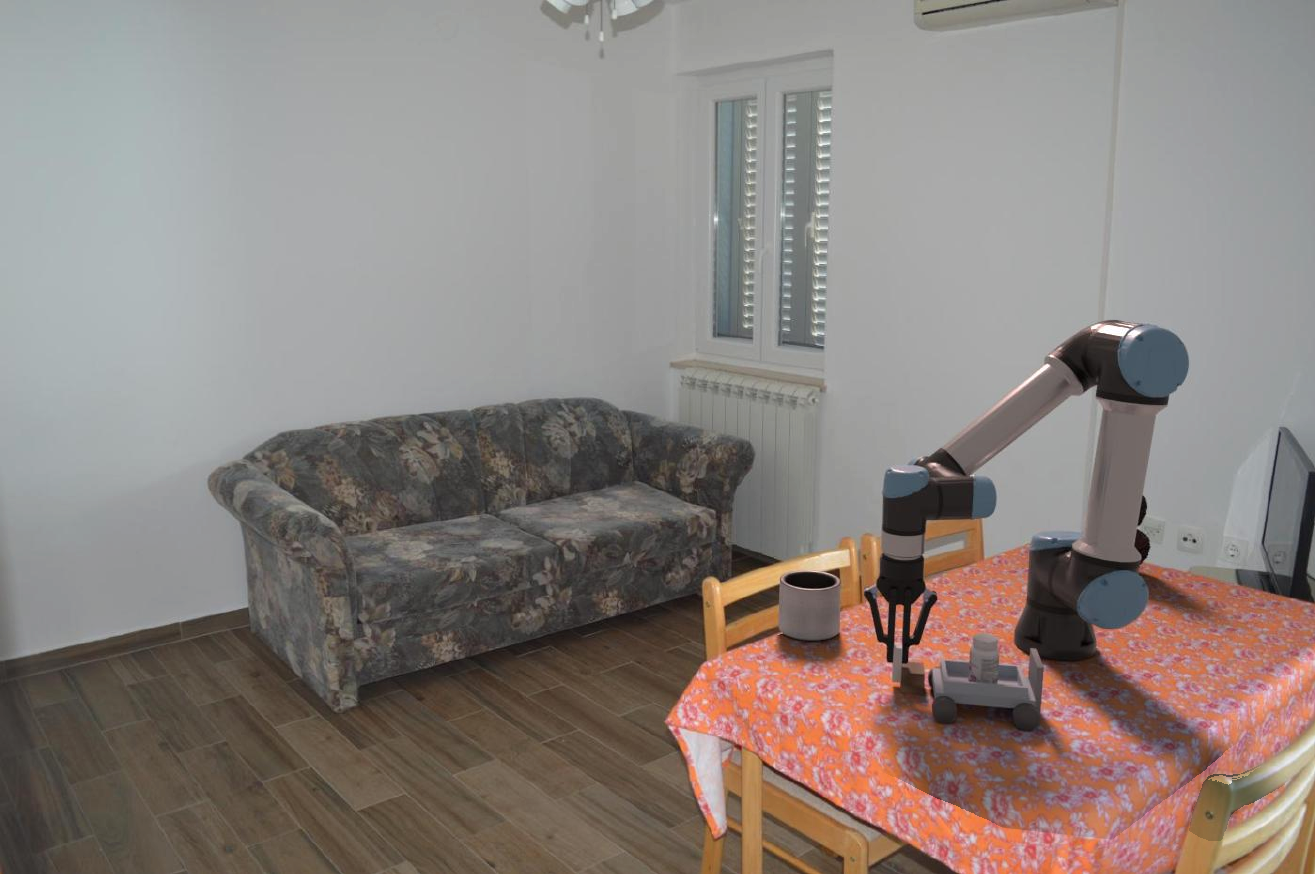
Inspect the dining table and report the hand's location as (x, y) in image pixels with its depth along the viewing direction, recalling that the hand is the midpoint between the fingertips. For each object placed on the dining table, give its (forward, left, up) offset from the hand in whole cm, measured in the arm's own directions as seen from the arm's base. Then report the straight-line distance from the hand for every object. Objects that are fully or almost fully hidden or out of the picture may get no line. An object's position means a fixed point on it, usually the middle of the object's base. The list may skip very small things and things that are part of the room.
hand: (896, 678), depth 183 cm
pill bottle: (-14, +6, +3) cm, 16 cm away
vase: (-52, -74, -2) cm, 90 cm away
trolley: (-14, +6, -1) cm, 15 cm away
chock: (-3, 0, -2) cm, 3 cm away
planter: (+17, -23, -2) cm, 29 cm away
